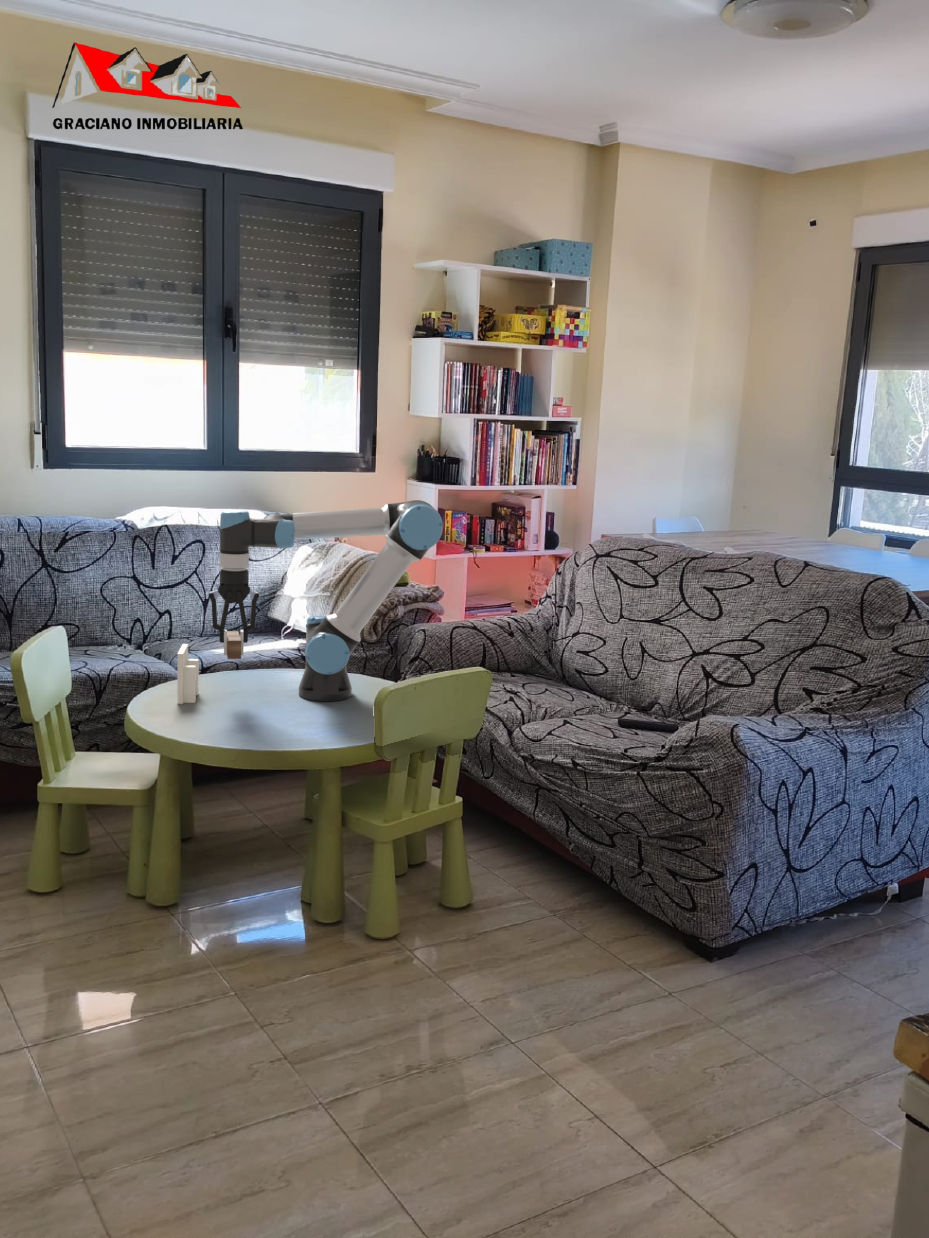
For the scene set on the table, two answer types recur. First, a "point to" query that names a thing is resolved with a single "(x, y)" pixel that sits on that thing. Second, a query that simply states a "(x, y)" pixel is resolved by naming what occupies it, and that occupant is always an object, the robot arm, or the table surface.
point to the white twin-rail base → (187, 677)
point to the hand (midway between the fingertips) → (233, 654)
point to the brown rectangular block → (233, 645)
